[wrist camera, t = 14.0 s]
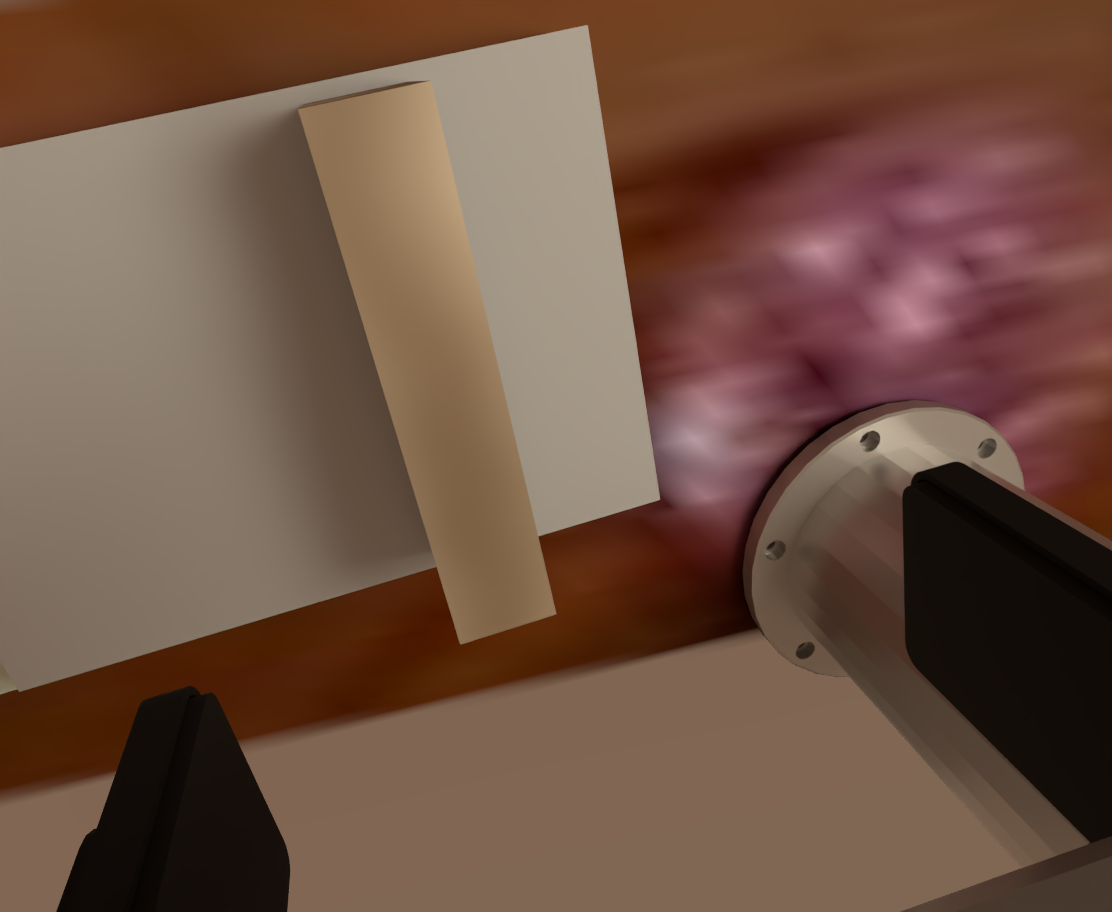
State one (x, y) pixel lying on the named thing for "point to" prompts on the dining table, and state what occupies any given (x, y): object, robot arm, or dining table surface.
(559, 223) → the bench board
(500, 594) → the tan long block
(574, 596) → the dining table surface
